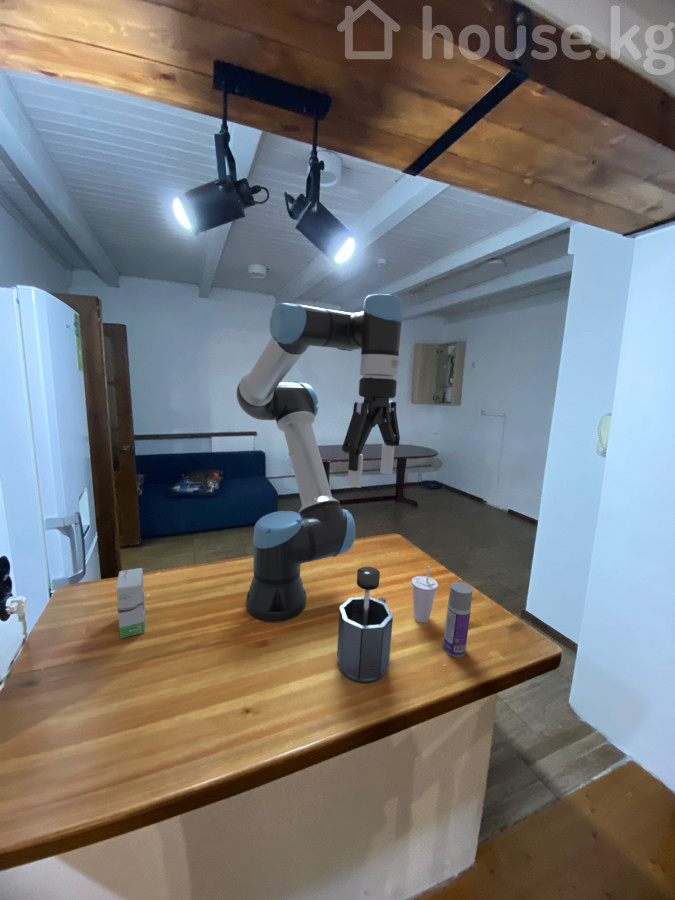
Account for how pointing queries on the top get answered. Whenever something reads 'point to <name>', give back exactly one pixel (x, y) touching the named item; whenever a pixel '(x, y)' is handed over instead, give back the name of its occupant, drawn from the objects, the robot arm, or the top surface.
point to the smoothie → (423, 596)
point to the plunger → (367, 586)
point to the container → (457, 619)
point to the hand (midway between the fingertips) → (371, 479)
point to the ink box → (131, 602)
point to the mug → (364, 640)
